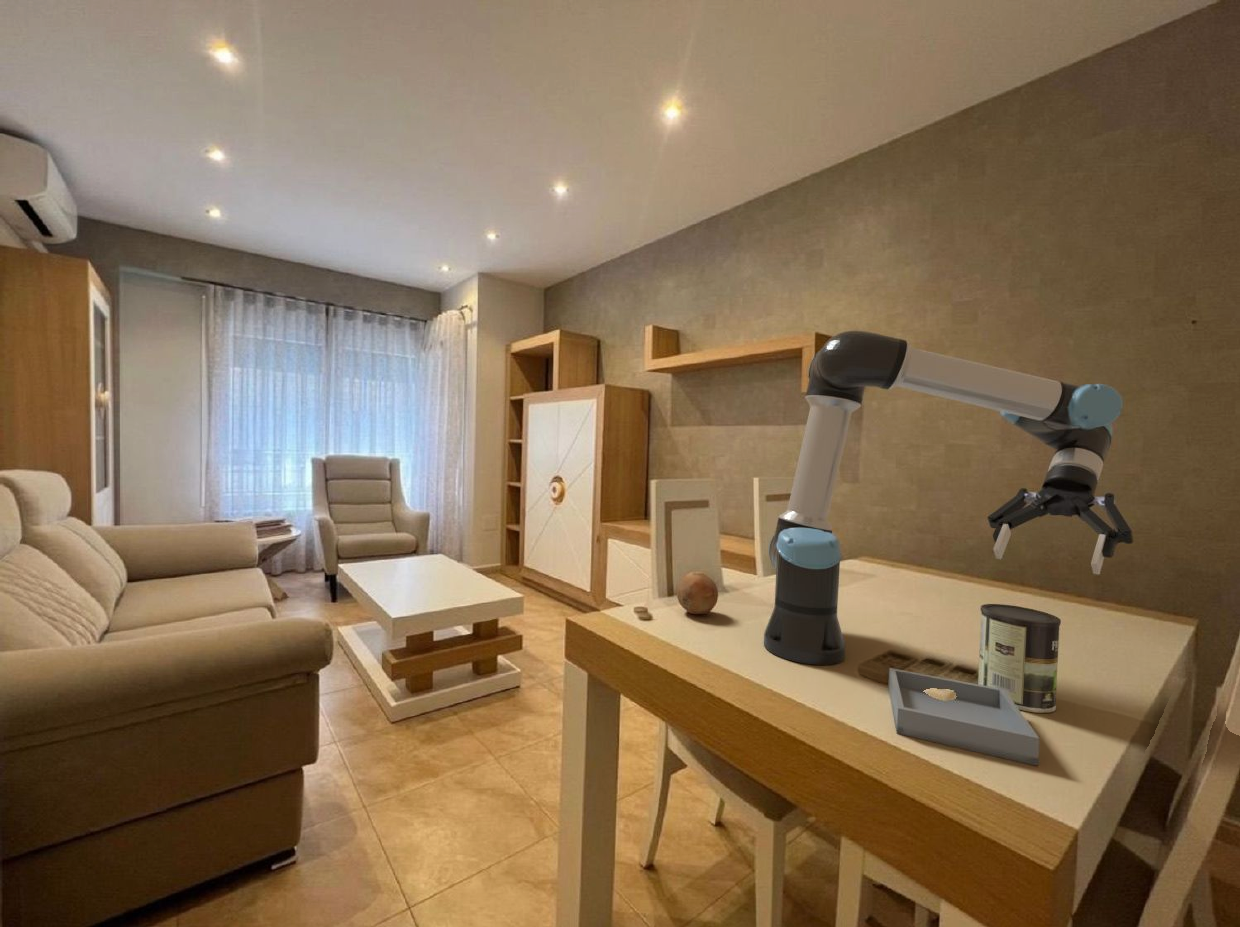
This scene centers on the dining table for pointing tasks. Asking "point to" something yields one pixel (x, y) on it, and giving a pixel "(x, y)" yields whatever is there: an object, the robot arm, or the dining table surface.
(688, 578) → the onion
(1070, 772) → the dining table surface
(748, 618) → the dining table surface
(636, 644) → the dining table surface
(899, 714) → the tray
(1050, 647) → the coffee can
